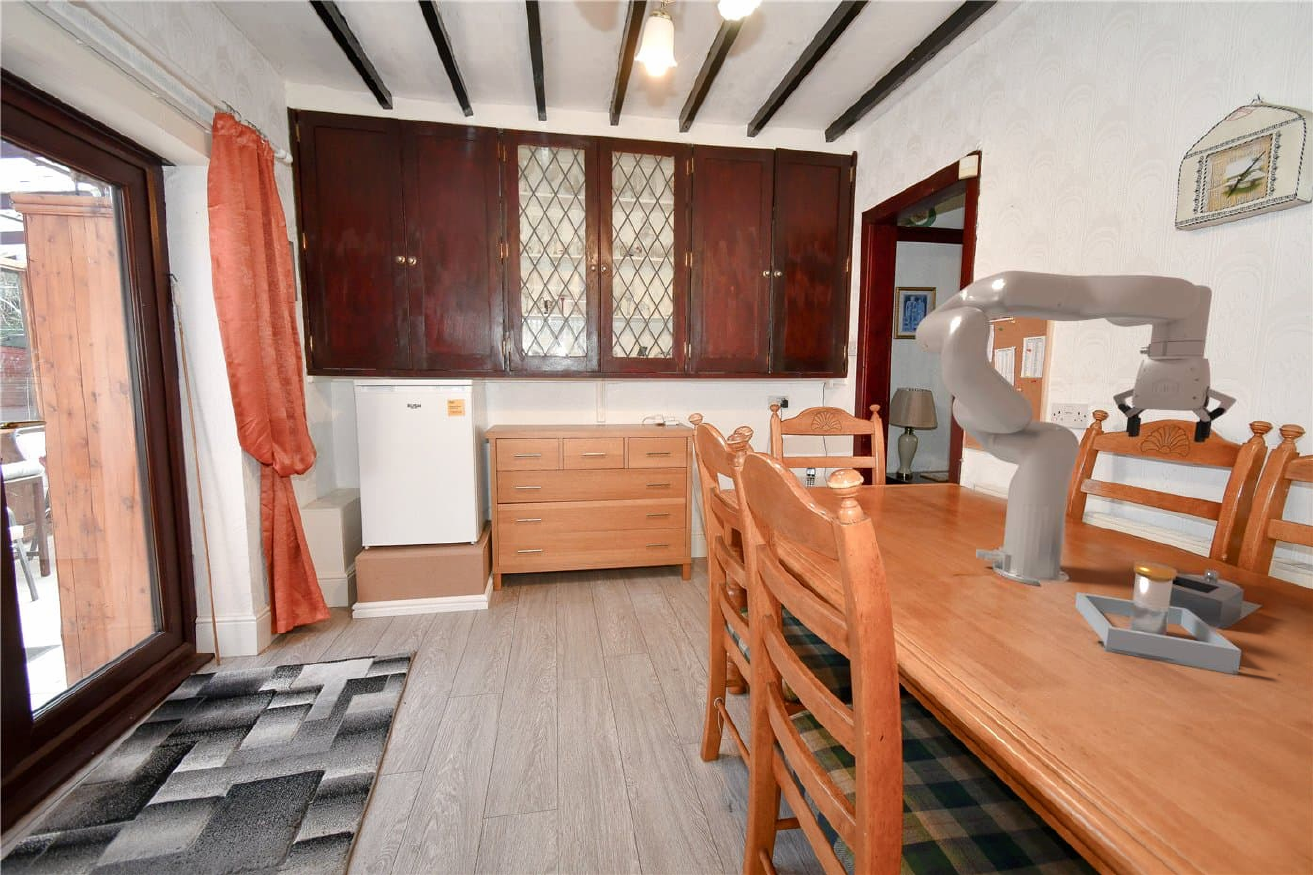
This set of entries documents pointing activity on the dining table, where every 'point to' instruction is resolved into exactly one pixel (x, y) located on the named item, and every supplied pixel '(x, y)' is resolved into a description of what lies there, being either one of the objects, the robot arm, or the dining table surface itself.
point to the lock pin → (1151, 597)
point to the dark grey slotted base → (1210, 599)
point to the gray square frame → (1160, 636)
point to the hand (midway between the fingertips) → (1165, 439)
